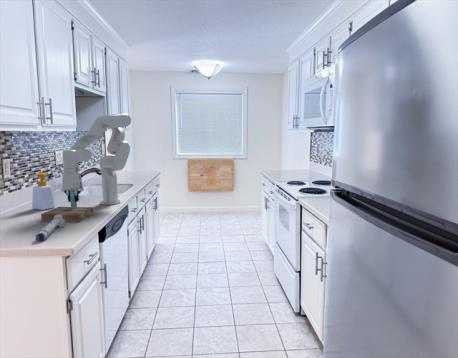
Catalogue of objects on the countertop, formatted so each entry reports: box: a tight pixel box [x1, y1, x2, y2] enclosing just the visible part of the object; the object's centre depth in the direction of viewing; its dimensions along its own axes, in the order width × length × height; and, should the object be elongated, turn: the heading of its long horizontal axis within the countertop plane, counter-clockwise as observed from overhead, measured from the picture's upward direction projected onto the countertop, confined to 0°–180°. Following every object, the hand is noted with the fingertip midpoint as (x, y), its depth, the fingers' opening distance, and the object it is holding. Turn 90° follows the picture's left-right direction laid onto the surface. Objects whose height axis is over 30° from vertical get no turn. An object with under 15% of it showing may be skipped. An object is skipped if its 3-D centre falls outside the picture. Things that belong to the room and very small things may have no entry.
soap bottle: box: [26, 172, 56, 211], centre depth 192 cm, size 10×14×22 cm
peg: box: [70, 190, 78, 207], centre depth 189 cm, size 3×3×12 cm
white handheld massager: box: [35, 214, 66, 242], centre depth 148 cm, size 5×7×25 cm
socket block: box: [40, 206, 95, 223], centre depth 175 cm, size 17×20×4 cm
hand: (73, 201), depth 189 cm, fingers closed on peg, 3 cm apart
